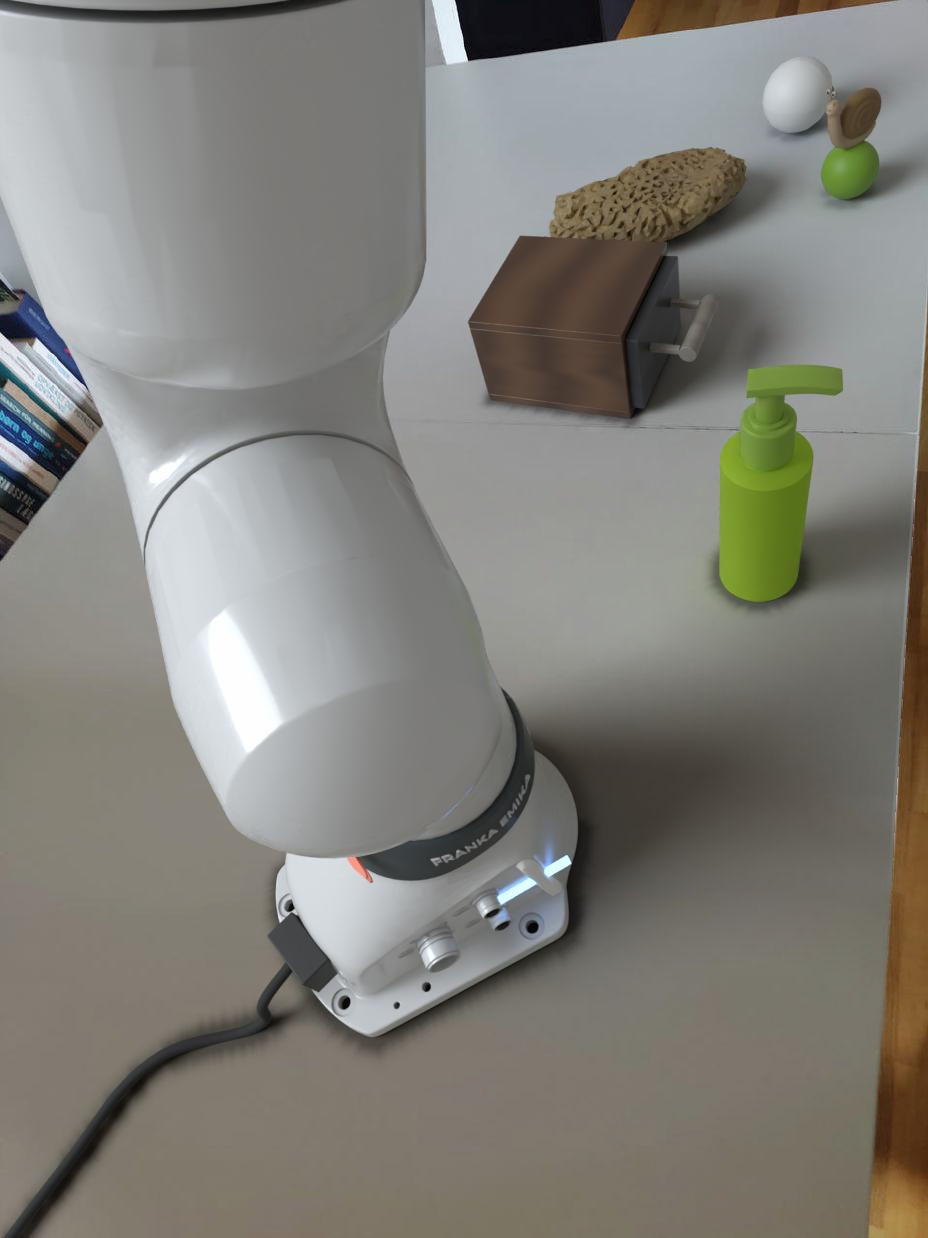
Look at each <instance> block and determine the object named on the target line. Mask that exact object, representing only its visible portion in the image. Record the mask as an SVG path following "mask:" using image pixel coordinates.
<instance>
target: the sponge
mask: <svg viewBox="0 0 928 1238" xmlns="http://www.w3.org/2000/svg"><path fill="white" fill-rule="evenodd" d="M726 151H727V149H723V148H720V147H715V148H714V147H712V146H710V147H706V148H697V147H695V148H694V147H690V148H687V149H682V150H676V151H672V152H668V153H662V154H658V155H655V156H653V157H651V158H645V159H642V160H639V161H637V162H636V163H635V164H634V166H632V165H629V166H627V167H625V168H623V170H621V172H619V173H618V174H617V175H616V176H611V177H608V178H606V179H604V180H596V181H595V180H594V181H592V182H590V183H588V184H586V185H583V186H581V187H579V188H577V189H576V190H573V191H568V192H566V193H562V194H558V195H556V196H555V200H554V203H555V204H554V209H553V211H552V214H553V216H554V218H553V219H552V220H550V222H549V225H548V230H549V237H562V238H583V239H604V240H626V241H647V242H666V241H668V240H672V239H674V238H676V237H678V236H680V235H682V234H686V233H688V232H690V231H691V230H693V229H694V228H695V227H697V226H698V225H701V224H702V223H703V222H704V221H706V220H709V218H710V216H712V215H714V214H716V213H717V212H718V211H721V209H723V208H725V207H726V206H727V205H728V204H730V203H731V202H732V201H733V200H734V199H735V197H737V196H738V195H739V193H740V192H741V191H742V190H743V188H744V185H745V184H746V183H745V182H746V181H747V177H746V173H747V166H746V164H745V161H746V160H745V159H744V158H740V157H737V156H734V155H732V154H731V153H729V154H728V153H727V152H726Z"/></svg>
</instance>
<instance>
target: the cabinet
mask: <svg viewBox="0 0 928 1238" xmlns="http://www.w3.org/2000/svg"><path fill="white" fill-rule="evenodd" d="M665 256H668V243H667V242H666V241H665V242H647V241H626V240H604V239H583V238H562V237H551V236H541V235H539V236H538V235H536V236H535V235H519V236H518V238H517V240H516V241H515V242H514V244H513V246H512V248H511V249H510V251H509V253H508V254H507V256H506V258H505V259H504V261H503V262H502V264H501V265H500V268H498V271H497V272H496V273H495V276H494V277H493V279H492V281H491V282H490V284H489V286H488V287H487V289H486V291H484V293H483V296H482V297H481V299H480V300H479V302H478V303H477V306H476V307H475V309H474V310H473V312H472V313H471V316H470V317H469V318H468V320H467V324H468V328H469V331H470V334H471V338H472V341H473V345H474V349H475V352H476V356H477V359H478V362H479V365H480V369H481V373H482V375H483V380H484V383H485V386H486V391H487V393H488V397H489V400H490V401H497V402H505V403H511V404H519V405H526V406H533V407H541V408H547V409H555V410H562V411H571V412H577V413H584V414H591V415H598V416H599V415H600V416H607V417H614V418H621V419H622V418H623V419H629V420H630V419H631V418H632V416H633V414H634V412H635V409H636V408H635V407H632V403H631V394H630V384H629V375H628V366H627V356H626V347H625V336H626V334H627V331H628V329H629V327H630V325H631V323H632V321H633V319H634V317H635V315H636V313H637V311H638V309H639V307H640V305H641V303H642V300H643V298H644V296H645V294H646V292H647V290H648V288H649V286H650V284H651V285H652V282H653V280H654V278H655V276H656V274H657V272H658V270H659V268H660V266H661V264H662V262H663V260H664V258H665Z"/></svg>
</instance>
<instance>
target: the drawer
mask: <svg viewBox="0 0 928 1238" xmlns="http://www.w3.org/2000/svg"><path fill="white" fill-rule="evenodd" d="M679 271H680V269H679V256H678V255H667V256H665V258H664V260H663V262H662V264H661V266H660V268H659V270H658V272H657V274H656V276H655V278H654V280H653V282H652V285H651V284H650V286H649V288H648V290H647V292H646V294H645V296H644V298H643V300H642V303H641V305H640V307H639V309H638V311H637V313H636V315H635V317H634V319H633V321H632V323H631V325H630V327H629V329H628V331H627V334H626V336H625V347H626V356H627V366H628V375H629V384H630V394H631V403H632V407H635V409H645V408H646V405H647V403H648V400H649V398H650V396H651V394H652V392H653V390H654V388H655V385H656V383H657V380H658V379H659V377H660V374H661V371H662V369H663V367H664V365H665V363H666V360H667V359H668V356H669V355H676V356H679V358H680V359H681V360H682V361H683V362H686V363H687V362H688V363H691V362H694V361H695V360H696V359H697V358H698V355H699V352H700V351H701V348H702V346H703V343H704V341H705V339H706V336H707V334H708V332H709V329H710V327H711V325H712V322H713V320H714V318H715V316H716V313H717V311H718V308H719V305H720V300H719V299H718V298H717V296H715V295H713V294H707V295H704V296H703V297H702V298H701V299H690V298H689V299H687V298H681V297H680V295H681V294H680V272H679ZM681 309H684V310H687V309H688V310H696V312H695V314H694V316H693V319H692V321H691V323H690V325H689V328H688V330H687V332H686V335H685V336H684V339H683V342H682V344H681V345H680V344H674V343H675V341H676V338H677V336H678V334H679V331H680V329H681V327H682V323H681V322H682V321H681V320H682V319H681Z"/></svg>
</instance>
